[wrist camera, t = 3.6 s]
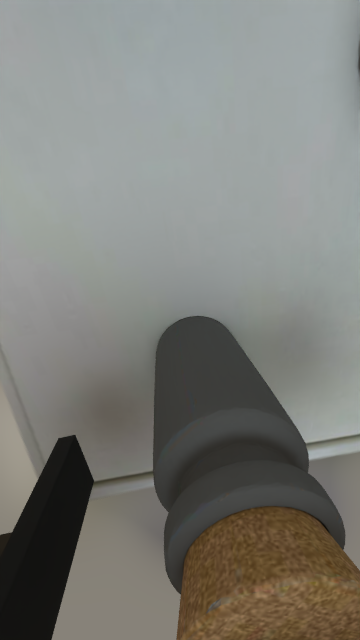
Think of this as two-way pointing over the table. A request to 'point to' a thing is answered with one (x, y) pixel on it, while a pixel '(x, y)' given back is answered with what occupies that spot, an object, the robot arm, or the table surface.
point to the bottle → (242, 501)
